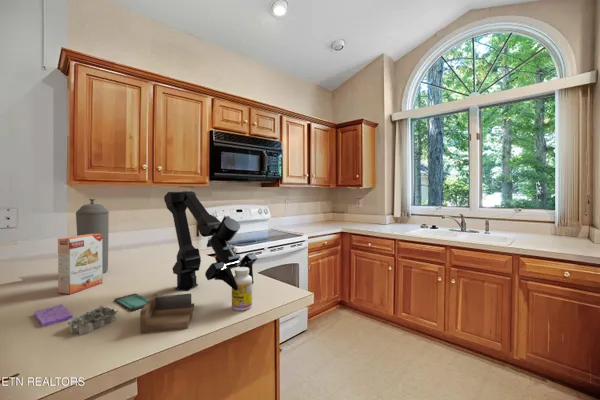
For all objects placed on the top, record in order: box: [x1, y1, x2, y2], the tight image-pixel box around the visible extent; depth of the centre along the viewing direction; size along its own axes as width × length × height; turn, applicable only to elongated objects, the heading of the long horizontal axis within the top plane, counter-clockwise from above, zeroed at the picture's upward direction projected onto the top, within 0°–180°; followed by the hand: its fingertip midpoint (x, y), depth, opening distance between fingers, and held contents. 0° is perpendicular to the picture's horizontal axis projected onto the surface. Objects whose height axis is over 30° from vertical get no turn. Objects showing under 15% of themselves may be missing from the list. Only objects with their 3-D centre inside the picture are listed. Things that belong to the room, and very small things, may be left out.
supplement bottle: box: [231, 267, 253, 312], centre depth 93 cm, size 7×7×13 cm
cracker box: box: [57, 234, 103, 295], centre depth 111 cm, size 14×6×21 cm, turn 168°
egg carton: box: [66, 305, 119, 336], centre depth 81 cm, size 11×8×4 cm
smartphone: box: [113, 293, 150, 312], centre depth 97 cm, size 7×1×15 cm
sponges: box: [33, 303, 74, 327], centre depth 86 cm, size 7×13×2 cm, turn 52°
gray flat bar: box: [156, 293, 193, 311], centre depth 88 cm, size 1×10×4 cm, turn 103°
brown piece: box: [139, 293, 195, 334], centre depth 84 cm, size 13×12×6 cm
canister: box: [75, 198, 110, 274], centre depth 132 cm, size 13×13×35 cm
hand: (244, 286), depth 92 cm, fingers closed on supplement bottle, 7 cm apart
